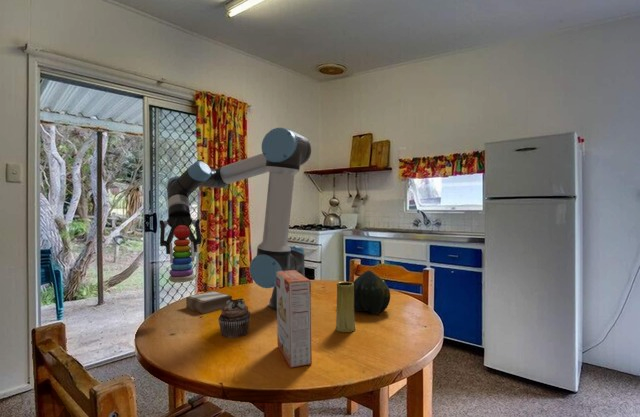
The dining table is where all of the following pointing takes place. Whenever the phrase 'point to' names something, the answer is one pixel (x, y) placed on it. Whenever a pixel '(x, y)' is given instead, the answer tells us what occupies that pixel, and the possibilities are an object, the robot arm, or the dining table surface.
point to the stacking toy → (181, 256)
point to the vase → (345, 307)
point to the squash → (370, 293)
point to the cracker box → (294, 317)
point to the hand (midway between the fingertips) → (182, 260)
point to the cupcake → (234, 319)
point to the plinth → (207, 302)
